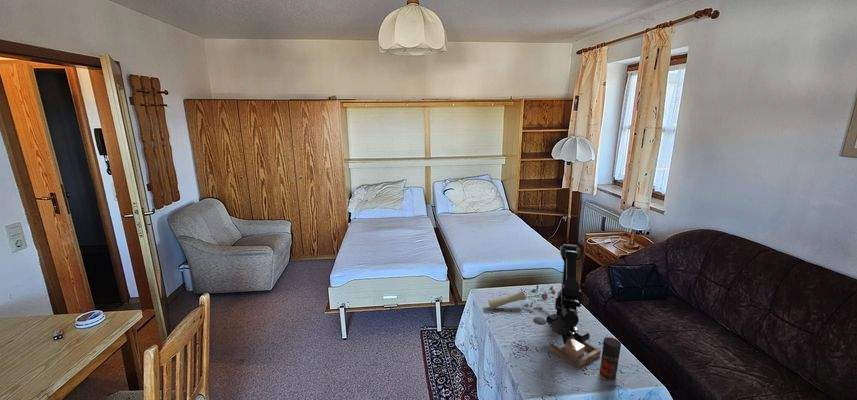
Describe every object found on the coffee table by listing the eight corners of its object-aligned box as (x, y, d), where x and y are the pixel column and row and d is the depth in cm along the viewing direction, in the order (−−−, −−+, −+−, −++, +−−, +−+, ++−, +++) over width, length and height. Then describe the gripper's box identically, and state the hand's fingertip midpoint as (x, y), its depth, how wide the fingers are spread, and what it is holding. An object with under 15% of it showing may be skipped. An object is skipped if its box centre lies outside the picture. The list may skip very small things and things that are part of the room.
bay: (572, 338, 165) (572, 333, 164) (600, 355, 153) (600, 350, 153) (550, 349, 157) (550, 344, 157) (577, 368, 146) (578, 363, 145)
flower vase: (491, 317, 195) (551, 300, 197) (497, 324, 182) (561, 305, 185) (485, 296, 195) (546, 279, 198) (491, 301, 183) (555, 283, 186)
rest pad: (539, 316, 182) (539, 315, 182) (548, 322, 177) (548, 321, 177) (530, 319, 179) (530, 319, 179) (540, 325, 174) (540, 325, 174)
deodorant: (596, 369, 145) (600, 337, 141) (610, 369, 145) (615, 336, 142) (604, 380, 139) (609, 347, 136) (619, 379, 140) (624, 346, 136)
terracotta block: (571, 346, 160) (572, 338, 159) (584, 353, 155) (585, 345, 154) (563, 351, 156) (564, 343, 155) (576, 359, 152) (577, 351, 151)
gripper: (539, 308, 159) (536, 338, 163) (575, 329, 144) (571, 362, 148) (555, 301, 165) (552, 331, 169) (592, 321, 149) (588, 353, 153)
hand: (565, 343), depth 159 cm, fingers closed
